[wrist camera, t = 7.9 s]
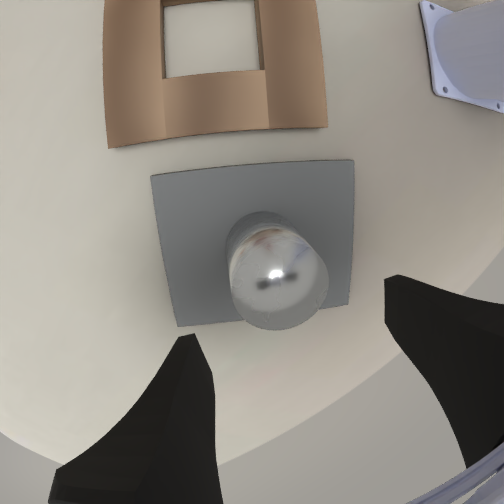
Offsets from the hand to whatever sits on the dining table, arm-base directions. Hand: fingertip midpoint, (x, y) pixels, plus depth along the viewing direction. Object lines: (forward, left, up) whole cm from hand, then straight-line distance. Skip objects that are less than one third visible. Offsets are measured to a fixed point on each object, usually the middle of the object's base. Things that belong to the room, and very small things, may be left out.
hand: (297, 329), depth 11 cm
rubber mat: (0, 0, -9) cm, 9 cm away
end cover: (0, 0, -8) cm, 8 cm away
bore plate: (+2, -13, -9) cm, 16 cm away
